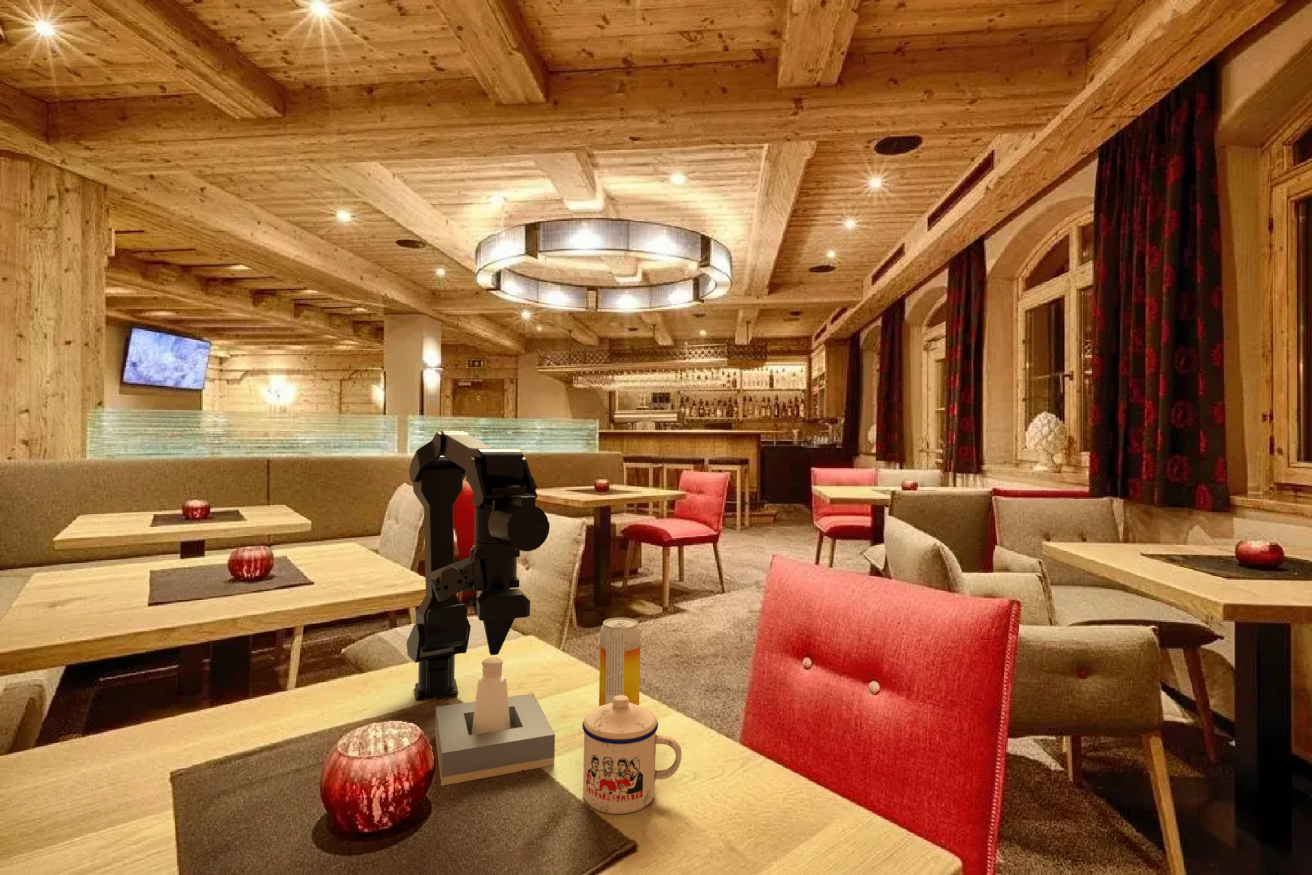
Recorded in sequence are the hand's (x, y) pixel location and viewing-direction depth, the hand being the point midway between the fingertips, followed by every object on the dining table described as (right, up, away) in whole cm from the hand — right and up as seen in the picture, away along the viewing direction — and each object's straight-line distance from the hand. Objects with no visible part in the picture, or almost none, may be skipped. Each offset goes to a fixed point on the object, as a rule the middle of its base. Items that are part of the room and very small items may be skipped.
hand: (493, 654), depth 86 cm
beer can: (+17, -14, +9) cm, 23 cm away
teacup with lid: (+19, -14, -10) cm, 26 cm away
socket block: (0, -13, 0) cm, 13 cm away
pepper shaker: (-1, -12, +1) cm, 12 cm away
